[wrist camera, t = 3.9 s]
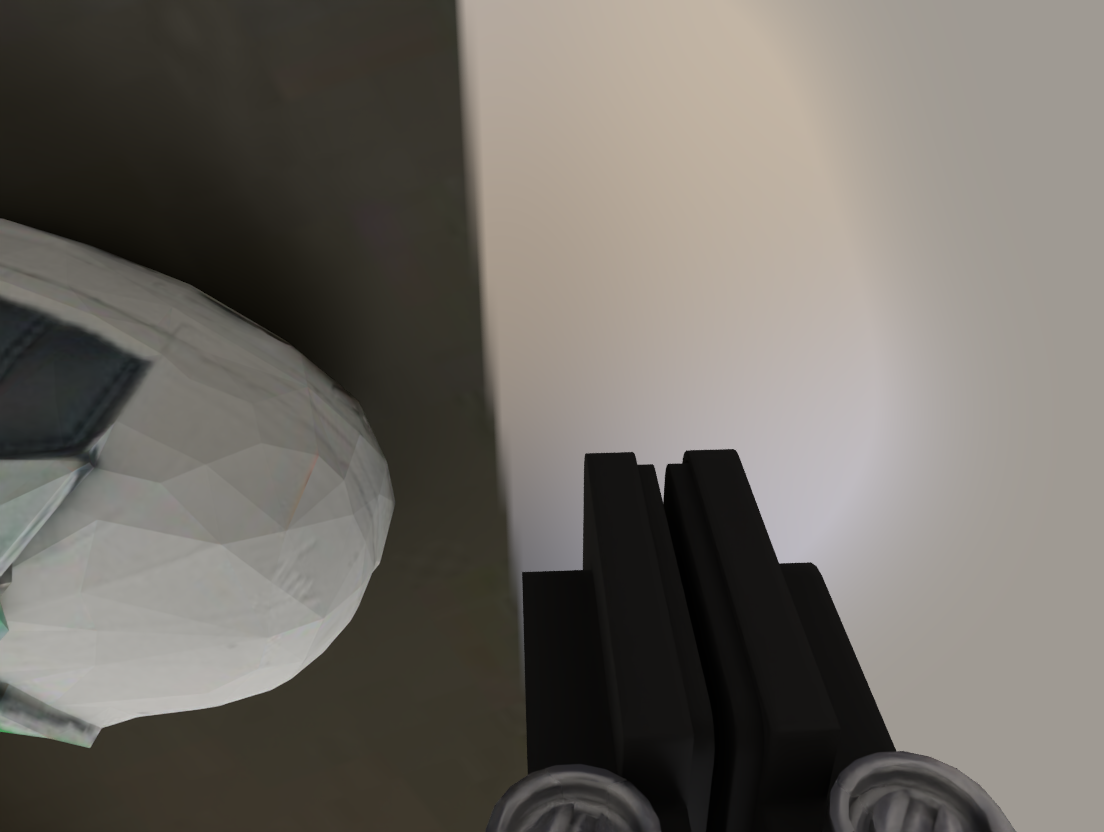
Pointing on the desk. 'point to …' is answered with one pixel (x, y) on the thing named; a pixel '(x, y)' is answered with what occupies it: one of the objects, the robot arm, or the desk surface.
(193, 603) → the sneaker
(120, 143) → the desk surface
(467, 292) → the desk surface
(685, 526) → the robot arm
